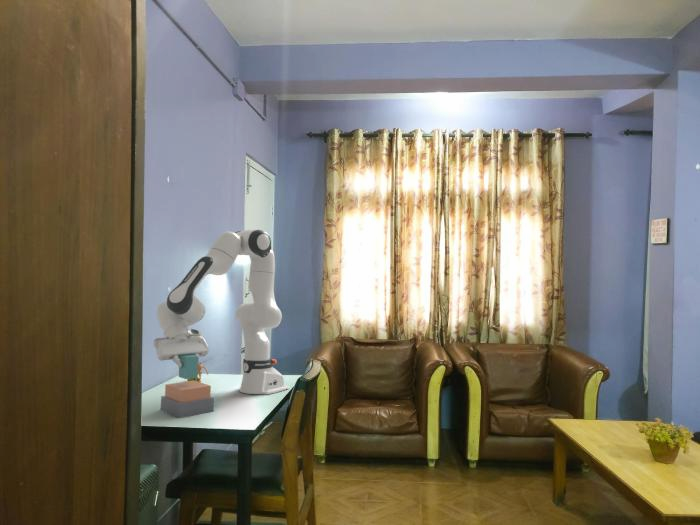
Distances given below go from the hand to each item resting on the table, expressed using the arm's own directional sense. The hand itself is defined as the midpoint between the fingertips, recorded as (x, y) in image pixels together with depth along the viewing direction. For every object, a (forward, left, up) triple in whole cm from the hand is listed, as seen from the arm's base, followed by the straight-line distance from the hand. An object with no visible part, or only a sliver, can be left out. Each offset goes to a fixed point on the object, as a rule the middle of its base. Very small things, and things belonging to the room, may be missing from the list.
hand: (189, 365), depth 198 cm
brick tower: (0, -1, -17) cm, 17 cm away
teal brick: (0, -1, -4) cm, 4 cm away
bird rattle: (-27, -43, -17) cm, 53 cm away
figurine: (-19, -26, -17) cm, 36 cm away
